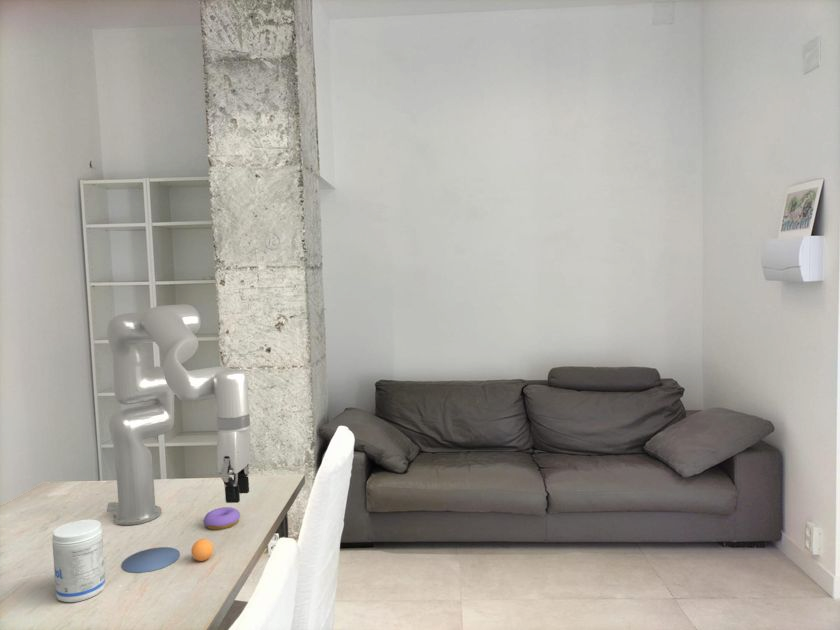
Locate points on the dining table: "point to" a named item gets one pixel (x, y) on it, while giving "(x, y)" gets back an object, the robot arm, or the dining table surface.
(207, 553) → the ball
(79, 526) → the supplement tub
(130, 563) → the disc
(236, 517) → the donut
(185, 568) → the dining table surface
